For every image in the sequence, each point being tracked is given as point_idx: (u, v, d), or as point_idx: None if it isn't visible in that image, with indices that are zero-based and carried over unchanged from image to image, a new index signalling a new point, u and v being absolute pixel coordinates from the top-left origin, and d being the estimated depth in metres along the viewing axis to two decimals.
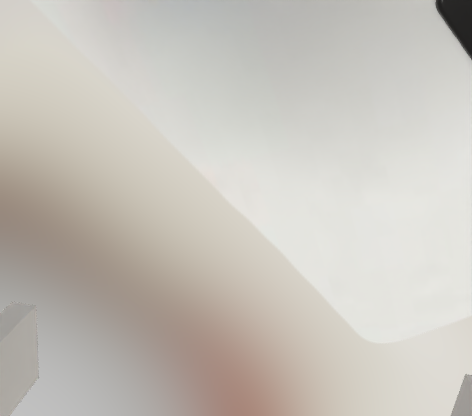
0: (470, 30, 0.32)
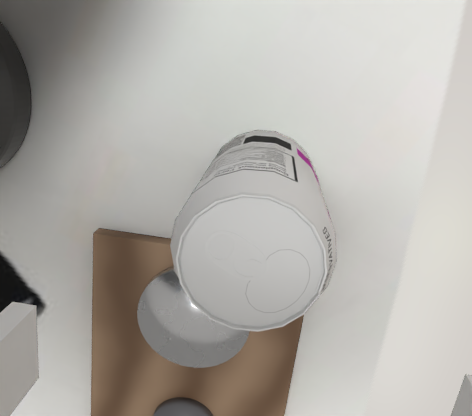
0: None
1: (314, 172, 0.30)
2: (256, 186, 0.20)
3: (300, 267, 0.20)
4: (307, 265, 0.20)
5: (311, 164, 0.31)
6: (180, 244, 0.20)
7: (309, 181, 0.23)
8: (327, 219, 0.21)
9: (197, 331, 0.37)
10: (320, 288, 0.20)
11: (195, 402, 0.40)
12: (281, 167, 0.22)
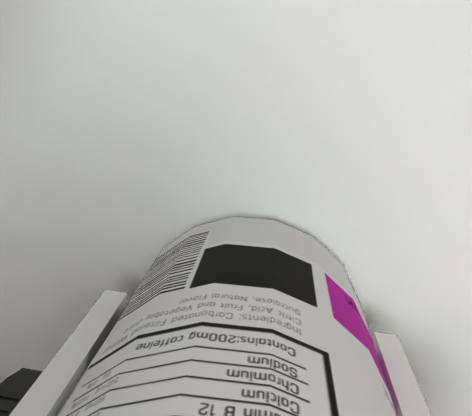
0: None
1: (367, 333, 0.13)
2: None
3: None
4: None
5: (356, 301, 0.14)
6: None
7: None
8: None
9: None
10: None
11: None
12: None
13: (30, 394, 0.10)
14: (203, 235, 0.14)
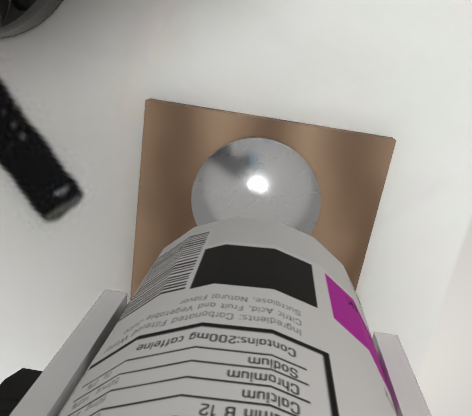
0: None
1: (367, 333, 0.13)
2: None
3: None
4: None
5: (356, 301, 0.14)
6: None
7: None
8: None
9: (258, 217, 0.33)
10: None
11: None
12: None
13: (30, 394, 0.10)
14: (203, 235, 0.14)
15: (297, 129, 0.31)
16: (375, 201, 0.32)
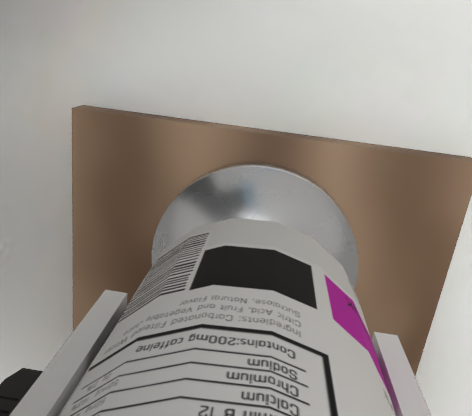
0: None
1: (367, 334, 0.13)
2: None
3: None
4: None
5: (356, 302, 0.14)
6: None
7: None
8: None
9: None
10: None
11: None
12: None
13: (30, 394, 0.10)
14: (203, 236, 0.14)
15: (317, 149, 0.19)
16: (444, 259, 0.20)
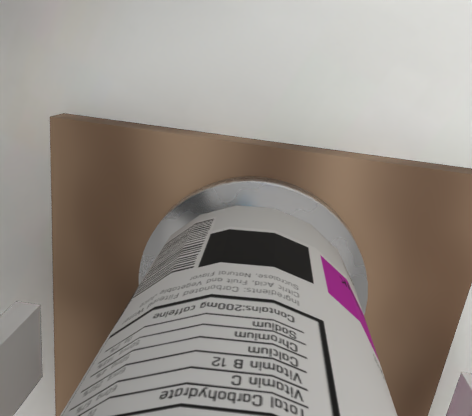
0: None
1: (360, 310, 0.14)
2: None
3: None
4: None
5: (350, 282, 0.15)
6: None
7: None
8: None
9: None
10: None
11: None
12: None
13: None
14: (208, 222, 0.15)
15: (322, 163, 0.17)
16: (463, 284, 0.18)
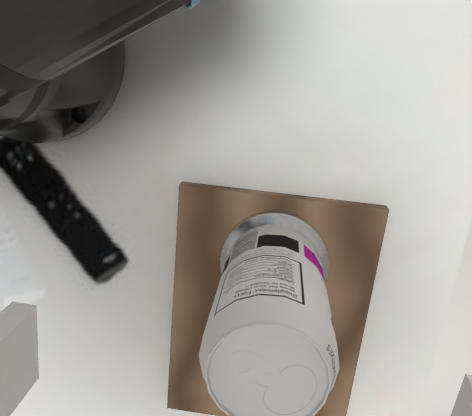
0: None
1: (319, 266, 0.34)
2: (270, 314, 0.24)
3: (308, 379, 0.24)
4: (315, 377, 0.24)
5: (317, 256, 0.35)
6: (208, 361, 0.25)
7: (315, 294, 0.28)
8: (330, 336, 0.25)
9: None
10: (326, 396, 0.24)
11: None
12: (290, 286, 0.27)
13: None
14: (256, 231, 0.36)
15: (305, 204, 0.38)
16: (375, 259, 0.39)
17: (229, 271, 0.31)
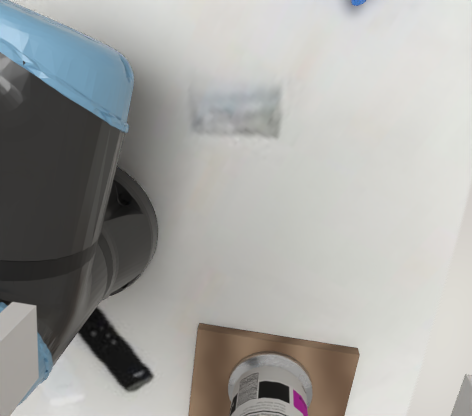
0: None
1: (305, 406, 0.45)
2: None
3: None
4: None
5: (303, 394, 0.46)
6: None
7: None
8: None
9: None
10: None
11: None
12: None
13: None
14: (257, 374, 0.47)
15: (295, 347, 0.49)
16: (348, 388, 0.50)
17: None
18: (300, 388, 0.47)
